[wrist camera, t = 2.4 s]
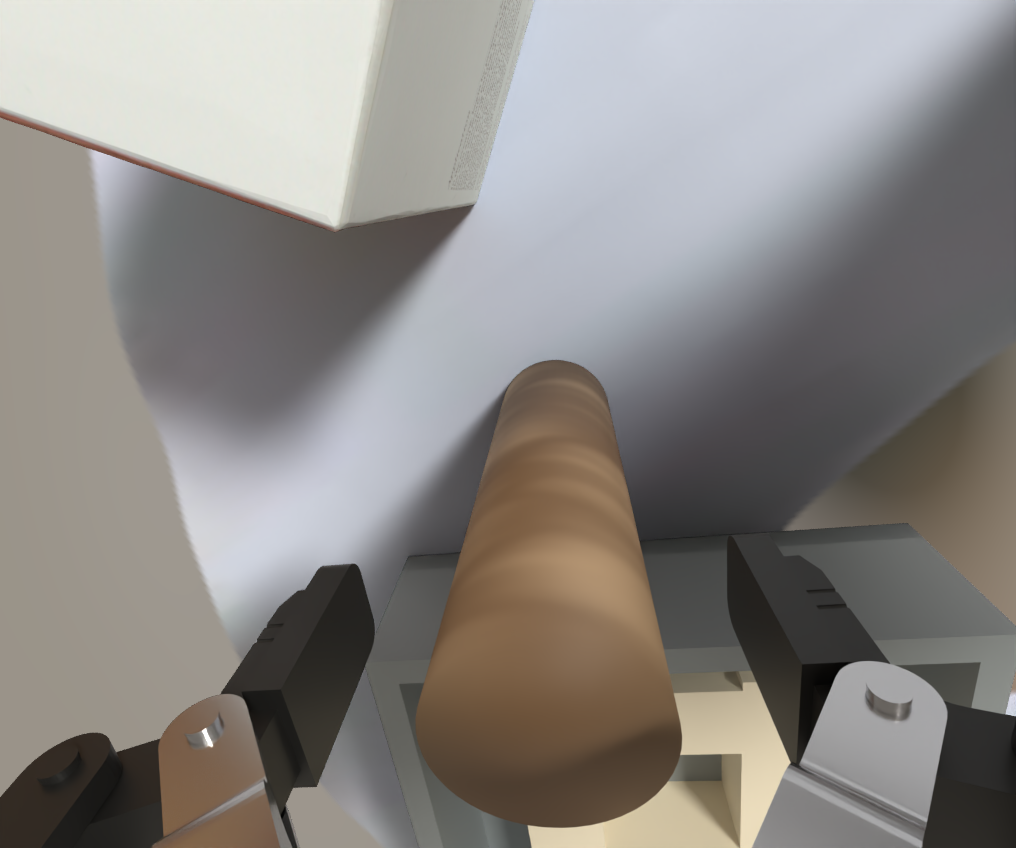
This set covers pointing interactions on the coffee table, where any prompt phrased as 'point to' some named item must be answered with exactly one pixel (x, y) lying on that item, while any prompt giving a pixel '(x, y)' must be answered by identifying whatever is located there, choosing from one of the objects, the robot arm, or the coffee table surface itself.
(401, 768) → the bin
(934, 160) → the coffee table surface
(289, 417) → the coffee table surface
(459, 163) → the small box
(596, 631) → the peg
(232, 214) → the coffee table surface
